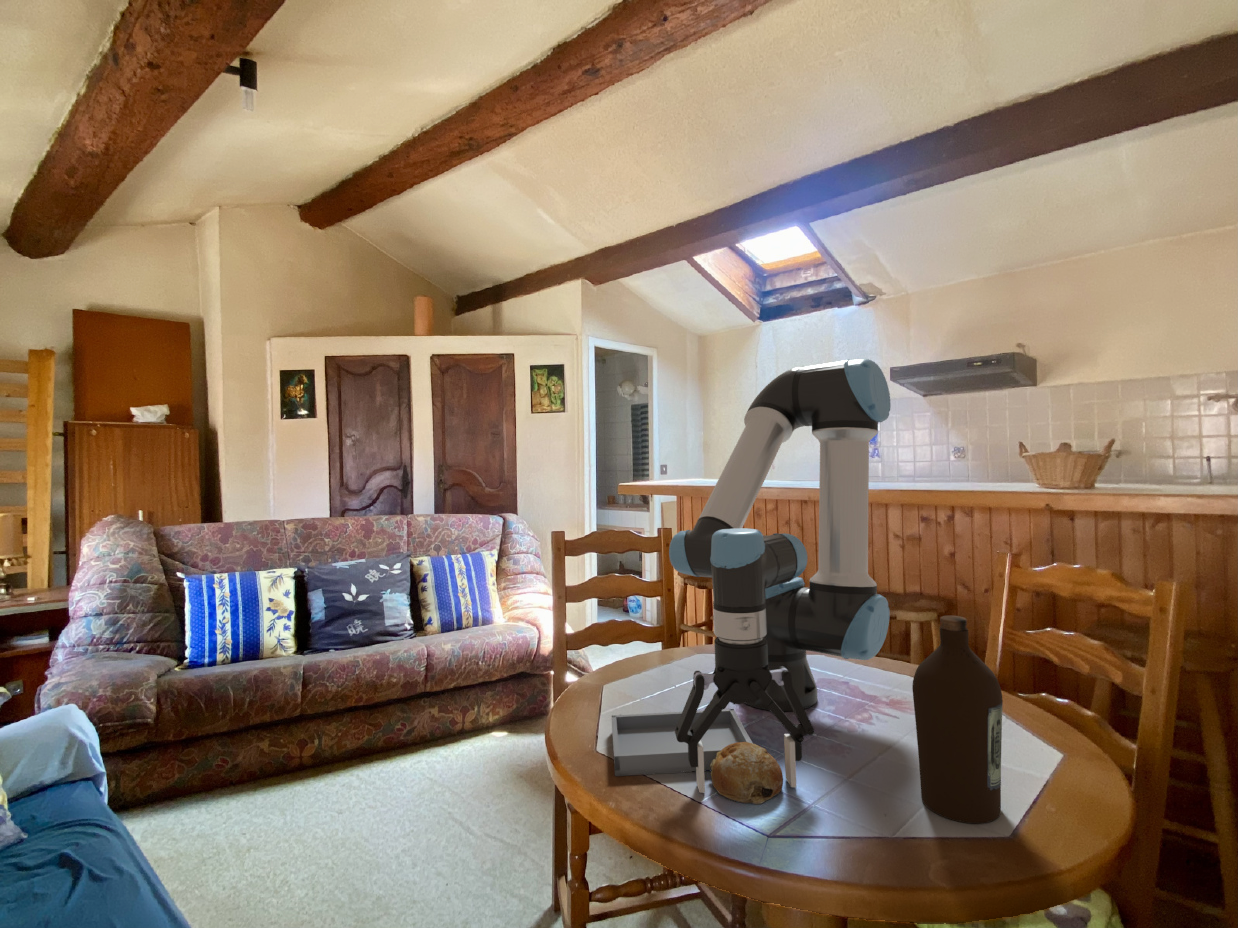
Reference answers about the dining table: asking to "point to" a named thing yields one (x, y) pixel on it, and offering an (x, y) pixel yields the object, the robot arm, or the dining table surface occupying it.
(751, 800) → the bread roll
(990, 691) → the olive oil
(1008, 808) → the dining table surface
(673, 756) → the tray
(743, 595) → the robot arm
